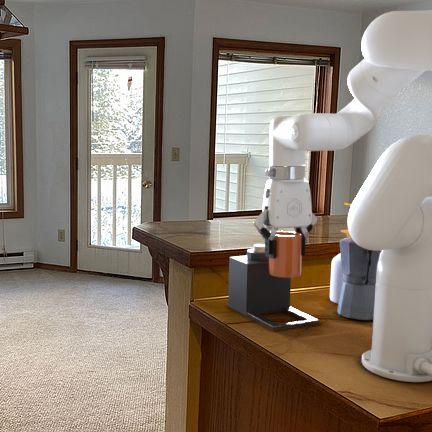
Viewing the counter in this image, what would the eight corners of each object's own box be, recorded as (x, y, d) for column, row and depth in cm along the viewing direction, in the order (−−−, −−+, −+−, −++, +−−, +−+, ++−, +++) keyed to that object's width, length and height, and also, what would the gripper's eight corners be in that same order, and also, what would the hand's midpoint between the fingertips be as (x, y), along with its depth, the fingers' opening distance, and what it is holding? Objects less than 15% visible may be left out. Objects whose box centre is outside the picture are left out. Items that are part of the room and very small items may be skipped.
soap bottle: (322, 298, 141) (327, 201, 137) (352, 295, 143) (357, 200, 140) (344, 308, 132) (350, 206, 129) (376, 305, 135) (383, 204, 131)
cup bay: (319, 324, 121) (319, 319, 121) (272, 331, 117) (273, 326, 117) (289, 310, 131) (290, 306, 131) (246, 316, 126) (246, 312, 126)
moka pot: (370, 306, 134) (375, 224, 131) (392, 328, 118) (398, 236, 116) (329, 305, 135) (333, 224, 132) (346, 327, 119) (351, 235, 117)
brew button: (270, 253, 129) (270, 246, 129) (258, 254, 128) (258, 247, 128) (262, 250, 132) (262, 243, 132) (250, 251, 131) (251, 244, 131)
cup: (307, 275, 120) (308, 234, 119) (281, 278, 118) (281, 236, 117) (288, 269, 126) (289, 230, 125) (262, 272, 124) (263, 232, 123)
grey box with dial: (289, 310, 131) (292, 252, 129) (246, 316, 126) (247, 256, 124) (270, 301, 138) (272, 246, 136) (228, 306, 134) (229, 249, 132)
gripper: (262, 176, 113) (261, 262, 115) (331, 174, 119) (328, 255, 121) (242, 174, 120) (241, 256, 122) (308, 172, 126) (306, 250, 128)
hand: (285, 255), depth 122 cm, fingers closed on cup, 6 cm apart
